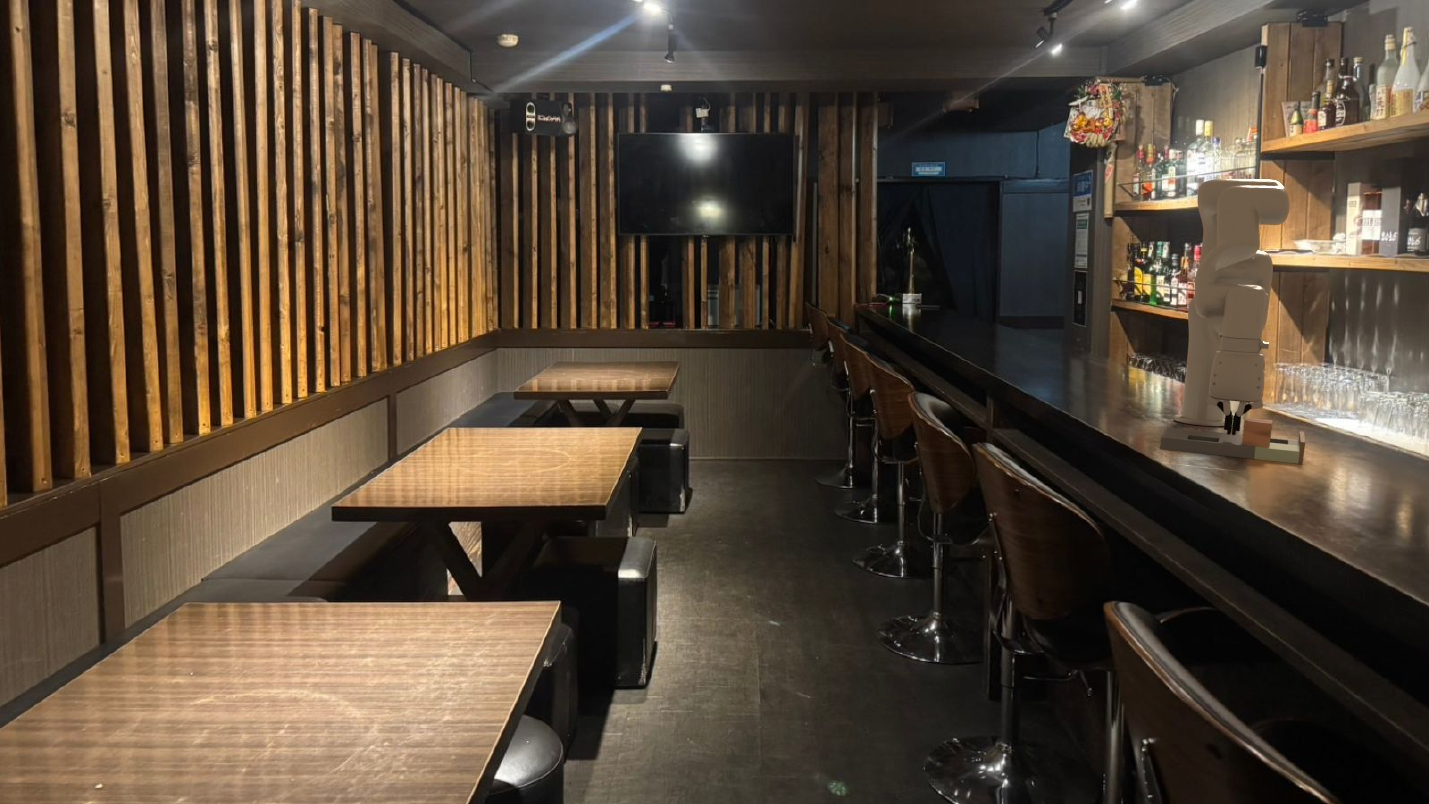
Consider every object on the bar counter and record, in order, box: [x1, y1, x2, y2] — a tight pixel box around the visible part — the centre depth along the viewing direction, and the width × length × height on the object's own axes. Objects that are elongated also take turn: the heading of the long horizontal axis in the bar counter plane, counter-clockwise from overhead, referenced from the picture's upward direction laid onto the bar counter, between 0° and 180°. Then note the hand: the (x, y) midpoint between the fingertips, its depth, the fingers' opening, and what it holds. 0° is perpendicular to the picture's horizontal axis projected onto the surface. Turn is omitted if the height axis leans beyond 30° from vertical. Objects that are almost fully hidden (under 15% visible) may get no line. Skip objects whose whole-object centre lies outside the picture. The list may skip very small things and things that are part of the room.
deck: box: [1159, 427, 1306, 465], centre depth 235 cm, size 15×27×4 cm, turn 63°
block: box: [1242, 417, 1274, 448], centre depth 229 cm, size 5×5×5 cm
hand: (1231, 434), depth 231 cm, fingers closed
